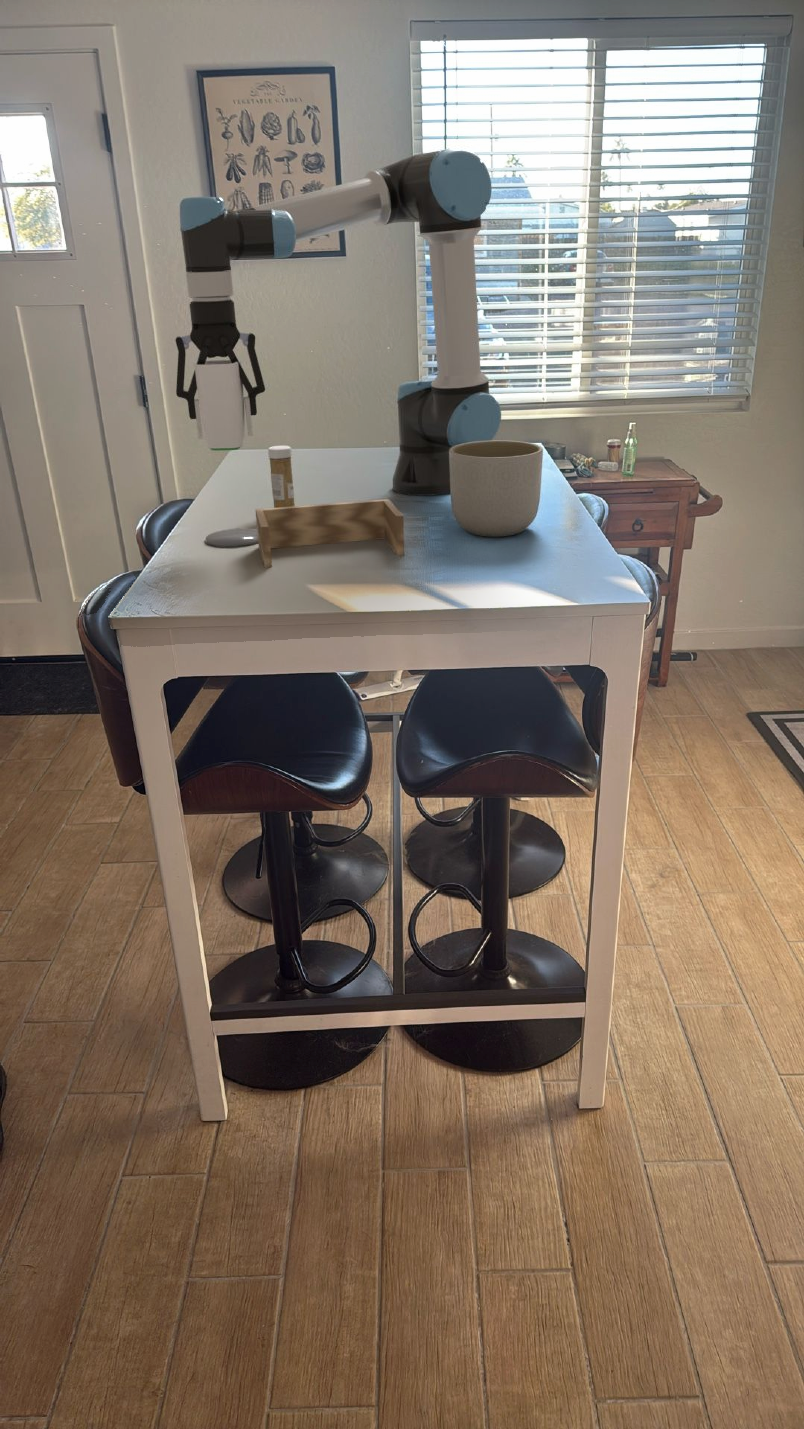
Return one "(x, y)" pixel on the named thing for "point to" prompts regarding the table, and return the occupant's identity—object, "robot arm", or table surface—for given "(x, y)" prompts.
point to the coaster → (233, 538)
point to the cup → (221, 404)
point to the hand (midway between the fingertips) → (225, 435)
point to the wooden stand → (329, 525)
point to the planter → (495, 486)
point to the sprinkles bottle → (281, 476)
